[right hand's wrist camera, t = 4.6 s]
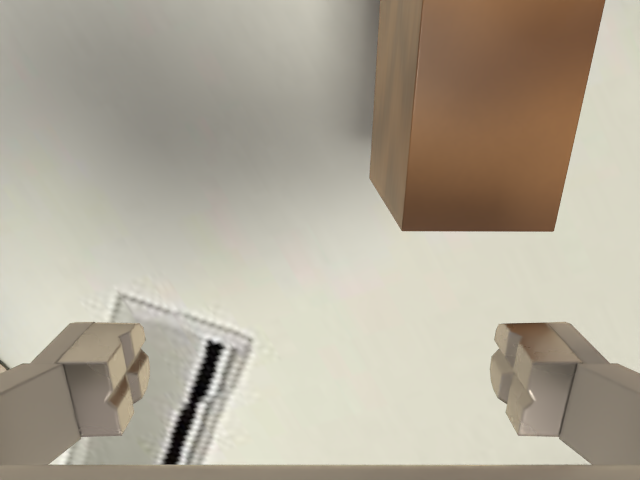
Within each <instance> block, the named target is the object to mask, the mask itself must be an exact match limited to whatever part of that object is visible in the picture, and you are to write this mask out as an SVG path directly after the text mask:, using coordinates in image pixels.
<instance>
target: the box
mask: <svg viewBox="0 0 640 480" xmlns="http://www.w3.org/2000/svg"><path fill="white" fill-rule="evenodd" d="M604 4H605V0H380V12H379V28H378V45H377V61H376V78H375V95H374V111H373V128H372V144H371V161H370V177H369V178H370V180H371V182H372V183H373V185H374V187H375V188H376V190H377V191H378V193H379V195H380V196H381V198H382V200H383V201H384V203H385V204H386V206H387V208H388V209H389V211H390V213H391V214H392V216H393V217H394V219H395V221H396V222H397V224H398V226H399V227H400V229H401V230H402V231H549V232H552V231H554V228H555V224H556V219H557V215H558V210H559V206H560V201H561V197H562V192H563V188H564V183H565V179H566V174H567V170H568V165H569V161H570V156H571V152H572V147H573V143H574V138H575V134H576V129H577V125H578V120H579V116H580V112H581V107H582V103H583V98H584V94H585V89H586V85H587V80H588V76H589V71H590V67H591V62H592V58H593V53H594V49H595V44H596V40H597V35H598V31H599V26H600V22H601V17H602V13H603V8H604Z"/></svg>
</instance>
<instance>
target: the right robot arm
mask: <svg viewBox="0 0 640 480" xmlns="http://www.w3.org/2000/svg"><path fill="white" fill-rule="evenodd" d="M145 340H146V338H145V333H144V328H143V327H142V325H141V324H140V323H104V322H97V323H95V322H75V323H70V324H69V325H68V326H67V327H66V328H65V329H64V330H63V331H62V332H61V333H60V334H59V335H58V336H57V337H56V338H55V339H54V340H53V341H52V342H51V343H50V344H49V345H48V346H47V347H46V348H45V349H44V350H43V351H42V352H41V353H40V354H39V355H38V356H37V357H36V358H35V359H34V360H33V361H32V362H31V363H30V364H20V365H18V366H16V367H14V368H12V369H9V370H6V369H5V368H4V367H3V366H2V365H1V364H0V480H640V373H637V372H635V371H633V370H631V369H628V368H626V367H624V366H622V365H620V364H610V363H609V362H608V361H607V360H606V359H605V358H604V357H603V356H602V355H601V354H600V353H599V352H598V351H597V350H596V349H595V348H594V347H593V346H592V345H591V344H590V343H589V342H588V341H587V340H586V339H585V338H584V337H583V336H582V335H581V334H580V333H579V332H578V331H577V330H576V329H575V328H574V327H573V326H572V325H571V324H569V323H567V322H549V323H511V324H499V325H498V327H497V329H496V333H495V338H494V340H495V342H496V344H497V345H498V347H499V349H498V350H497V351H496V352H495V353H494V354H493V356H492V357H491V364H490V376H491V383H492V386H493V389H494V392H495V394H496V396H497V397H498V399H500V400H501V401H503V402H504V403H506V404H507V408H506V414H507V416H508V418H509V420H510V421H511V423H512V425H513V427H514V429H515V431H516V432H517V434H518V436H549V437H559V439H560V440H562V441H563V442H564V443H565V444H567V445H568V446H569V447H570V448H572V449H573V450H574V451H575V452H577V453H578V454H579V455H581V456H582V457H583V458H584V459H586V460H587V461H588V462H589V463H591V464H592V465H48V464H49V463H51V462H52V461H53V460H55V459H56V458H57V457H58V456H60V455H61V454H62V453H63V452H65V451H66V450H67V449H69V448H70V447H71V446H72V445H74V444H75V443H76V442H77V441H79V440H80V439H81V437H90V436H122V434H123V432H124V431H125V429H126V427H127V425H128V423H129V422H130V420H131V418H132V416H133V414H134V408H133V404H134V403H136V402H137V401H139V400H140V399H142V397H143V396H144V394H145V392H146V390H147V386H148V382H149V377H150V363H149V357H148V356H147V354H146V353H145V352H144V351H143V350H142V349H141V347H142V345H143V344H144V342H145Z"/></svg>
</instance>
